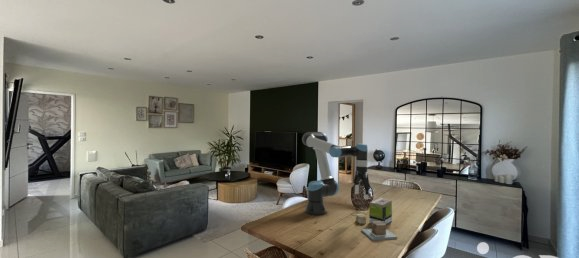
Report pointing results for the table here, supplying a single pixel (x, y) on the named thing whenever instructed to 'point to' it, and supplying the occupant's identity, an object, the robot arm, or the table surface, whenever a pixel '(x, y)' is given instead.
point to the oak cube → (360, 218)
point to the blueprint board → (378, 237)
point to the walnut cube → (379, 228)
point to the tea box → (380, 211)
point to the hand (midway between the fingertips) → (361, 196)
